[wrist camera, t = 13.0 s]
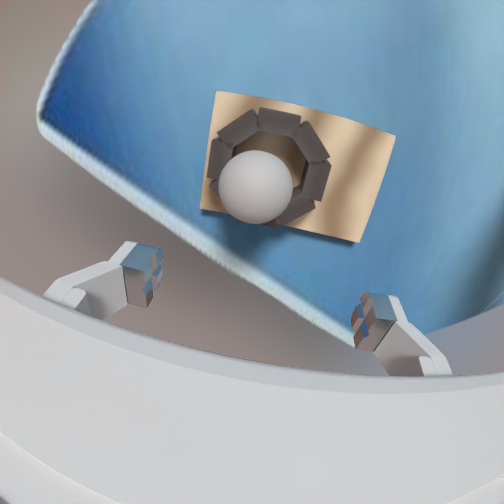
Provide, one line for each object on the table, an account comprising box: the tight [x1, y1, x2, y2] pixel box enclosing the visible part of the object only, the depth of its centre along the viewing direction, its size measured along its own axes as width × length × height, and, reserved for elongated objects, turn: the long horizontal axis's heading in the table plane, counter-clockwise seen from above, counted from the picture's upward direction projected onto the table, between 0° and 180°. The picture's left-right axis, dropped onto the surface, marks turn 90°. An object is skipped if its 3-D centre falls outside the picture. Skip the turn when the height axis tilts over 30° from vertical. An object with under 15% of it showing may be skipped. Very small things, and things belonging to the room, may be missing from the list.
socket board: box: [200, 91, 396, 243], centre depth 28 cm, size 20×14×4 cm
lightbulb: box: [218, 150, 293, 224], centre depth 25 cm, size 6×6×11 cm
